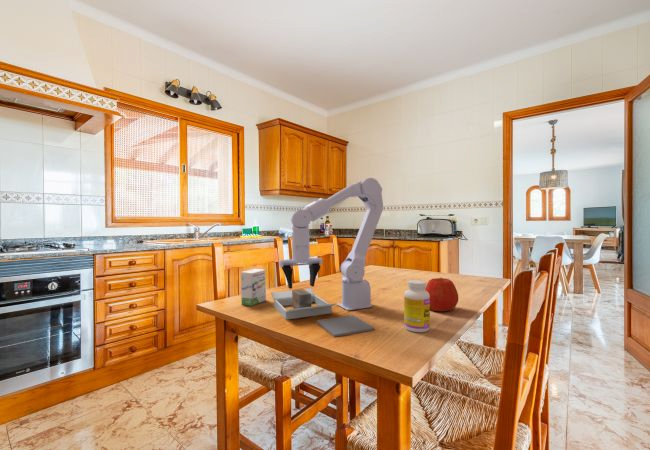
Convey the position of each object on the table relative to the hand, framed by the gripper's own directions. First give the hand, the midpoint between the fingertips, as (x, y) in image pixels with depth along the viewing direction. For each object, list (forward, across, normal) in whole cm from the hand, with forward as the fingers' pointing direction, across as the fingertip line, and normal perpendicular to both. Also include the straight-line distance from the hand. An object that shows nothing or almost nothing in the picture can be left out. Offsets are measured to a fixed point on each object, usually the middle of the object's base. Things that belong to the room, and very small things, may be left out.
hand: (301, 287), depth 101 cm
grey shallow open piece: (+8, 0, 0) cm, 8 cm away
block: (+8, 0, 0) cm, 8 cm away
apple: (+8, +42, -19) cm, 47 cm away
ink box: (+8, -13, +16) cm, 22 cm away
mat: (+8, +6, -20) cm, 22 cm away
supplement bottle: (+8, +23, -30) cm, 39 cm away
